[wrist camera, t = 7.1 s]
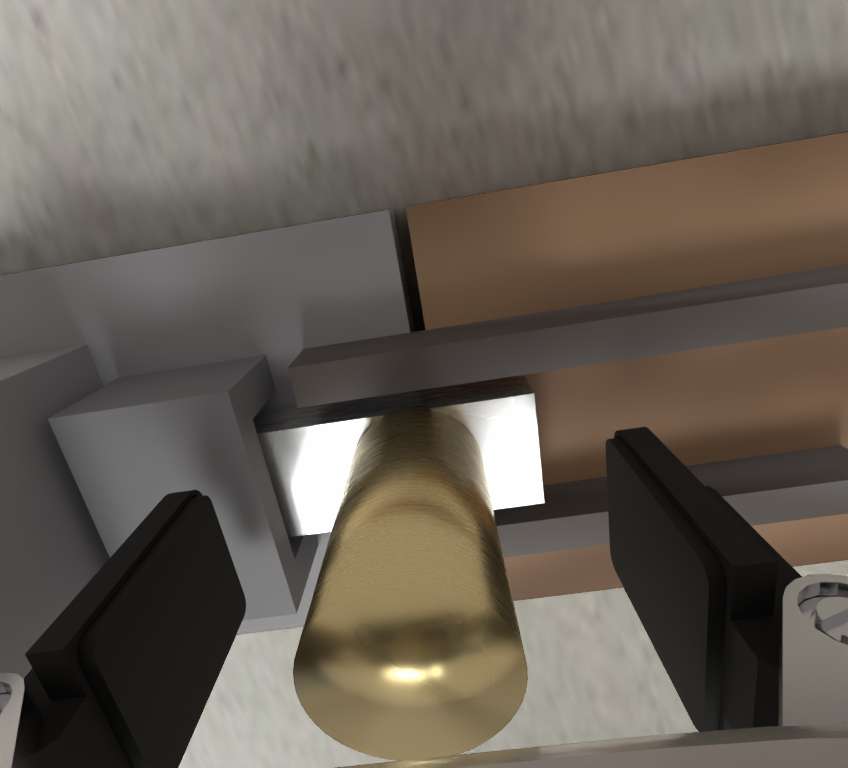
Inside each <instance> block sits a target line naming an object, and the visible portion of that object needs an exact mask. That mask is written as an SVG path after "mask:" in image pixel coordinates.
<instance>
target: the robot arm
mask: <svg viewBox="0 0 848 768" xmlns="http://www.w3.org/2000/svg"><path fill="white" fill-rule="evenodd" d="M606 471H607V494H608V517H609V540H610V555H611V560H612V563H613V566H614V569H615V571H616V573H617V575H618V577H619V579H620V581H621V583H622V585H623V587H624V589H625V591H626V593H627V595H628V597H629V599H630V601H631V603H632V605H633V606H634V608H635V610H636V612H637V614H638V616H639V618H640V620H641V622H642V624H643V626H644V628H645V630H646V632H647V634H648V636H649V638H650V640H651V642H652V644H653V646H654V648H655V650H656V652H657V654H658V656H659V657H660V659H661V661H662V663H663V665H664V667H665V669H666V671H667V673H668V675H669V677H670V679H671V681H672V683H673V685H674V687H675V689H676V691H677V693H678V695H679V697H680V699H681V701H682V703H683V705H684V707H685V708H686V710H687V712H688V714H689V716H690V718H691V720H692V722H693V724H694V726H695V727H696V729H697V730H698V731H699V732H694V733H681V734H669V735H657V736H644V737H633V738H623V739H613V740H603V741H593V742H583V743H573V744H563V745H553V746H543V747H533V748H522V749H512V750H502V751H492V752H482V753H472V754H462V755H452V756H442V757H433V758H423V759H414V760H404V761H395V762H385V763H375V764H366V765H356V766H347V767H337V768H848V577H846V576H838V575H831V574H817V575H807V576H804V577H802V576H801V575H800V574H799V573H798V572H797V571H796V570H795V569H794V568H793V567H792V566H791V565H790V564H789V563H788V562H787V561H786V560H785V559H784V558H783V557H782V556H781V555H780V554H779V553H778V552H777V551H776V550H775V549H774V548H773V547H772V546H771V545H770V544H769V543H768V542H767V541H766V540H765V539H764V538H763V537H762V536H761V535H760V534H759V533H758V532H757V531H756V530H755V529H754V528H753V527H752V526H751V525H750V524H749V523H748V522H747V521H746V520H745V519H744V518H743V517H742V516H741V515H740V514H739V513H738V512H737V511H736V510H735V509H734V508H733V507H732V506H731V505H730V504H729V503H728V502H727V501H726V500H725V499H724V498H723V497H722V496H721V495H720V494H719V493H718V492H717V491H716V490H714V489H713V488H712V487H710V486H704V485H703V484H702V483H701V482H700V481H699V480H698V479H697V478H696V477H695V476H694V475H693V474H692V472H691V471H690V470H689V469H688V468H687V467H686V466H685V465H684V464H683V463H682V462H681V461H680V460H679V459H678V458H677V457H676V456H675V455H674V454H673V453H672V452H671V451H670V450H669V449H668V448H667V447H666V446H665V445H664V444H663V443H662V442H661V441H660V440H659V439H658V438H657V437H656V436H655V434H654V433H653V432H652V431H651V430H650V429H649V428H647V427H639V428H632V429H624V430H617V431H616V432H615V434H614V438H612V439H607V440H606ZM245 612H246V599H245V595H244V592H243V589H242V586H241V584H240V581H239V578H238V575H237V572H236V569H235V566H234V564H233V561H232V558H231V555H230V552H229V549H228V546H227V544H226V541H225V538H224V535H223V532H222V529H221V526H220V524H219V521H218V518H217V515H216V512H215V509H214V506H213V503H212V501H211V499H210V498H209V497H208V496H206V495H204V496H203V495H202V493H201V492H200V491H198V490H190V491H183V492H176V493H169V494H167V495H166V496H164V497H163V499H162V500H161V501H160V502H159V503H158V504H157V505H156V507H155V508H154V509H153V510H152V511H151V512H150V513H149V514H148V516H147V517H146V518H145V519H144V520H143V521H142V522H141V523H140V525H139V526H138V527H137V528H136V529H135V530H134V531H133V533H132V534H131V535H130V536H129V537H128V538H127V539H126V540H125V542H124V543H123V544H122V545H121V546H120V547H119V548H118V549H117V551H116V552H115V553H114V554H113V555H112V556H111V557H110V558H109V560H108V561H107V562H106V563H105V564H104V565H103V566H102V568H101V569H100V570H99V571H98V572H97V573H96V574H95V575H94V577H93V578H92V579H91V580H90V581H89V582H88V583H87V584H86V586H85V587H84V588H83V589H82V590H81V591H80V592H79V594H78V595H77V596H76V597H75V598H74V599H73V600H72V601H71V603H70V604H69V605H68V606H67V607H66V608H65V609H64V610H63V612H62V613H61V614H60V615H59V616H58V617H57V618H56V619H55V621H54V622H53V623H52V624H51V625H50V626H49V627H48V629H47V630H46V631H45V632H44V633H43V634H42V635H41V636H40V638H39V639H38V640H37V641H36V642H35V643H34V644H33V645H32V647H31V648H30V649H29V650H28V651H27V652H26V653H25V656H26V657H27V659H28V661H29V663H30V665H31V666H32V669H31V670H30V671H29V673H28V674H27V675H26V676H25V677H24V679H23V678H22V677H21V676H19V675H18V674H16V673H1V674H0V768H178V767H179V764H180V762H181V760H182V758H183V755H184V753H185V751H186V749H187V746H188V744H189V742H190V739H191V737H192V735H193V733H194V730H195V728H196V726H197V723H198V721H199V719H200V717H201V714H202V712H203V710H204V707H205V705H206V703H207V701H208V698H209V696H210V694H211V691H212V689H213V687H214V685H215V682H216V680H217V678H218V675H219V673H220V671H221V669H222V666H223V664H224V662H225V659H226V657H227V655H228V653H229V650H230V648H231V646H232V643H233V641H234V639H235V637H236V634H237V632H238V630H239V627H240V625H241V623H242V621H243V618H244V616H245Z"/></svg>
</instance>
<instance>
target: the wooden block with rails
mask: <svg viewBox="0 0 848 768" xmlns="http://www.w3.org/2000/svg"><path fill="white" fill-rule="evenodd" d="M406 213H407V219H408V226H409V232H410V238H411V244H412V250H413V256H414V262H415V269H416V275H417V281H418V287H419V293H420V299H421V305H422V312H423V318H424V324H425V330H423V331H416V332H410V333H404V334H397V335H391V336H384V337H378V338H371V339H365V340H358V341H352V342H346V343H339V344H333V345H326V346H320V347H313V348H307V349H303V350H302V351H301V353H300V354H299V355H298V356H297V357H296V359H295V360H294V361H293V362H292V363H291V365H290V366H289V367H288V372H289V376H290V380H291V384H292V387H293V391H294V395H295V399H296V403H297V406H298V408H302V407H309V406H316V405H322V404H329V403H336V402H342V401H349V400H356V399H363V398H369V397H376V396H383V395H390V394H396V393H403V392H410V391H417V390H423V389H430V388H437V387H444V386H450V385H457V384H464V383H471V382H477V381H484V380H491V379H498V378H504V377H511V376H518V375H524V376H525V378H526V380H527V381H528V383H529V385H530V387H531V388H532V390H533V392H534V396H535V407H536V418H537V428H538V439H539V450H540V461H541V472H542V483H543V493H544V503H541V504H534V505H526V506H519V507H511V508H504V509H496V510H493V511H494V515H495V520H496V525H497V529H498V534H499V539H500V543H501V548H502V552H503V557H504V562H505V566H506V571H507V576H508V580H509V585H510V590H511V594H512V599H513V601H517V600H525V599H533V598H541V597H549V596H558V595H566V594H574V593H582V592H590V591H598V590H607V589H615V588H623V585H622V583H621V581H620V579H619V577H618V575H617V573H616V571H615V569H614V566H613V563H612V560H611V555H610V540H609V517H608V494H607V471H606V440H607V439H612V438H614V434H615V432H616V431H617V430H624V429H632V428H639V427H647V428H649V429H650V430H651V431H652V432H653V433H654V434H655V436H656V437H657V438H658V439H659V440H660V441H661V442H662V443H663V444H664V445H665V446H666V447H667V448H668V449H669V450H670V451H671V452H672V453H673V454H674V455H675V456H676V457H677V458H678V459H679V460H680V461H681V462H682V463H683V464H684V465H685V466H686V467H687V468H688V469H689V470H690V471H691V472H692V474H693V475H694V476H695V477H696V478H697V479H698V480H699V481H700V482H701V483H702V484H703V485H704V486H710V487H712V488H713V489H714V490H716V491H717V492H718V493H719V494H720V495H721V496H722V497H723V498H724V499H725V500H726V501H727V502H728V503H729V504H730V505H731V506H732V507H733V508H734V509H735V510H736V511H737V512H738V513H739V514H740V515H741V516H742V517H743V518H744V519H745V520H746V521H747V522H748V523H749V524H750V525H751V526H752V527H753V528H754V529H755V530H756V531H757V532H758V533H759V534H760V535H761V536H762V537H763V538H764V539H765V540H766V541H767V542H768V543H769V544H770V545H771V546H772V547H773V548H774V549H775V550H776V551H777V552H778V553H779V554H780V555H781V556H782V557H783V558H784V559H785V560H786V561H787V562H788V563H789V564H790V565H791V566H792V567H794V566H802V565H810V564H819V563H827V562H835V561H843V560H848V132H843V133H837V134H831V135H825V136H819V137H813V138H807V139H802V140H796V141H790V142H784V143H778V144H772V145H766V146H760V147H754V148H749V149H743V150H737V151H731V152H725V153H719V154H713V155H707V156H701V157H695V158H690V159H684V160H678V161H672V162H666V163H660V164H654V165H648V166H642V167H637V168H631V169H625V170H619V171H613V172H607V173H601V174H595V175H589V176H584V177H578V178H572V179H566V180H560V181H554V182H548V183H542V184H536V185H531V186H525V187H519V188H513V189H507V190H501V191H495V192H489V193H483V194H477V195H472V196H466V197H460V198H454V199H448V200H442V201H436V202H430V203H424V204H419V205H413V206H408V207H406Z"/></svg>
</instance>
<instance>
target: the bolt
mask: <svg viewBox="0 0 848 768" xmlns="http://www.w3.org/2000/svg"><path fill="white" fill-rule="evenodd" d="M253 422H254V425H255V428H256V432H257V435H258V438H259V442H260V445H261V448H262V452H263V455H264V458H265V462H266V465H267V468H268V472H269V475H270V478H271V482H272V485H273V488H274V492H275V495H276V499H277V502H278V505H279V509H280V512H281V515H282V519H283V522H284V525H285V529H286V532H287V535H288V537H294V536H301V535H309V534H316V533H324V532H331V534H330V538H329V541H328V545H327V548H326V552H325V555H324V559H323V562H322V566H321V569H320V572H319V576H318V579H317V583H316V586H315V590H314V593H313V597H312V600H311V604H310V607H309V611H308V614H307V618H306V621H305V625H304V628H303V632H302V635H301V639H300V642H299V646H298V649H297V652H296V656H295V659H294V668H293V676H294V685H295V689H296V693H297V696H298V698H299V700H300V703H301V705H302V707H303V708H304V710H305V711H306V713H307V715H308V716H309V717H310V718H311V719H312V721H313V722H314V723H315V724H316V725H317V726H318V727H319V728H320V729H321V730H323V731H324V732H325V733H326V734H328V735H329V736H330V737H332V738H333V739H334V740H336V741H338V742H340V743H341V744H343V745H345V746H347V747H349V748H351V749H354V750H356V751H358V752H361V753H364V754H368V755H371V756H375V757H379V758H384V759H390V760H399V761H404V760H414V759H423V758H433V757H442V756H452V755H457V754H460V753H462V752H465V751H468V750H470V749H472V748H474V747H476V746H479V745H481V744H482V743H484V742H486V741H487V740H489V739H490V738H492V737H493V736H494V735H496V734H497V733H498V732H499V731H501V730H502V729H503V728H504V727H505V726H506V725H507V724H508V723H509V722H510V720H511V719H512V718H513V716H514V715H515V713H516V712H517V710H518V709H519V707H520V705H521V703H522V701H523V698H524V695H525V691H526V686H527V679H528V676H527V664H526V659H525V654H524V650H523V645H522V640H521V636H520V631H519V627H518V622H517V617H516V613H515V608H514V603H513V599H512V594H511V590H510V585H509V580H508V576H507V571H506V566H505V562H504V557H503V552H502V548H501V543H500V539H499V534H498V529H497V525H496V520H495V515H494V511H493V510H496V509H504V508H511V507H519V506H526V505H534V504H541V503H544V493H543V483H542V472H541V461H540V450H539V439H538V428H537V418H536V407H535V396H534V392H533V390H532V388H531V387H530V385H529V383H528V381H527V380H526V378H525V376H524V375H518V376H511V377H504V378H498V379H491V380H484V381H477V382H471V383H464V384H457V385H450V386H444V387H437V388H430V389H423V390H417V391H410V392H403V393H396V394H390V395H383V396H376V397H369V398H363V399H356V400H349V401H342V402H336V403H329V404H322V405H316V406H309V407H302V408H298V406H296V407H290V408H283V409H276V410H269V411H263V412H258V413H257V415H256V416H255V417H254V418H253Z"/></svg>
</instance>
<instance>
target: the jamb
mask: <svg viewBox="0 0 848 768" xmlns="http://www.w3.org/2000/svg"><path fill="white" fill-rule="evenodd" d="M410 332H415V330H414V324H413V318H412V312H411V306H410V300H409V294H408V289H407V283H406V277H405V271H404V265H403V259H402V253H401V247H400V242H399V236H398V230H397V224H396V218H395V212H394V209H389V210H383V211H377V212H371V213H366V214H360V215H354V216H348V217H342V218H336V219H330V220H324V221H318V222H313V223H307V224H301V225H295V226H289V227H283V228H277V229H271V230H265V231H259V232H254V233H248V234H242V235H236V236H230V237H224V238H218V239H212V240H206V241H201V242H195V243H189V244H183V245H177V246H171V247H165V248H159V249H153V250H148V251H142V252H136V253H130V254H124V255H118V256H112V257H106V258H100V259H95V260H89V261H83V262H77V263H71V264H65V265H59V266H53V267H47V268H41V269H36V270H30V271H24V272H18V273H12V274H6V275H0V674H1V673H16V674H18V675H19V676H21V677H22V678H23V679H24V677H25V676H26V675H27V674H28V673H29V671H30V670H31V669H32V666H31V665H30V663H29V661H28V659H27V657H26V656H25V653H26V652H27V651H28V650H29V649H30V648H31V647H32V645H33V644H34V643H35V642H36V641H37V640H38V639H39V638H40V636H41V635H42V634H43V633H44V632H45V631H46V630H47V629H48V627H49V626H50V625H51V624H52V623H53V622H54V621H55V619H56V618H57V617H58V616H59V615H60V614H61V613H62V612H63V610H64V609H65V608H66V607H67V606H68V605H69V604H70V603H71V601H72V600H73V599H74V598H75V597H76V596H77V595H78V594H79V592H80V591H81V590H82V589H83V588H84V587H85V586H86V584H87V583H88V582H89V581H90V580H91V579H92V578H93V577H94V575H95V574H96V573H97V572H98V571H99V570H100V569H101V568H102V566H103V565H104V564H105V563H106V562H107V561H108V560H109V558H110V557H111V556H112V555H113V554H114V553H115V552H116V551H117V549H118V548H119V547H120V546H121V545H122V544H123V543H124V542H125V540H126V539H127V538H128V537H129V536H130V535H131V534H132V533H133V531H134V530H135V529H136V528H137V527H138V526H139V525H140V523H141V522H142V521H143V520H144V519H145V518H146V517H147V516H148V514H149V513H150V512H151V511H152V510H153V509H154V508H155V507H156V505H157V504H158V503H159V502H160V501H161V500H162V499H163V497H164V496H166V495H167V494H169V493H176V492H183V491H190V490H198V491H200V492H201V493H202V495H203V496H204V495H206V496H208V497H209V498H210V499H211V501H212V503H213V506H214V509H215V512H216V515H217V518H218V521H219V524H220V526H221V529H222V532H223V535H224V538H225V541H226V544H227V546H228V549H229V552H230V555H231V558H232V561H233V564H234V566H235V569H236V572H237V575H238V578H239V581H240V584H241V586H242V589H243V592H244V595H245V599H246V612H245V616H244V618H243V621H242V623H241V625H240V627H239V630H238V632H237V634H236V635H239V634H248V633H256V632H264V631H272V630H280V629H288V628H297V627H304V625H305V621H306V618H307V614H308V611H309V607H310V604H311V600H312V597H313V593H314V590H315V586H316V583H317V579H318V576H319V572H320V569H321V566H322V562H323V559H324V555H325V552H326V548H327V545H328V541H329V538H330V534H331V532H324V533H316V534H309V535H301V536H294V537H288V535H287V532H286V529H285V525H284V522H283V519H282V515H281V512H280V509H279V505H278V502H277V499H276V495H275V492H274V488H273V485H272V482H271V478H270V475H269V472H268V468H267V465H266V462H265V458H264V455H263V452H262V448H261V445H260V442H259V438H258V435H257V432H256V428H255V425H254V422H253V418H254V417H255V416H256V415H257V413H258V412H263V411H269V410H276V409H283V408H290V407H296V406H297V403H296V399H295V395H294V391H293V387H292V384H291V380H290V376H289V372H288V367H289V366H290V365H291V363H292V362H293V361H294V360H295V359H296V357H297V356H298V355H299V354H300V353H301V351H302V350H303V349H307V348H313V347H320V346H326V345H333V344H339V343H346V342H352V341H358V340H365V339H371V338H378V337H384V336H391V335H397V334H404V333H410Z"/></svg>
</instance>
